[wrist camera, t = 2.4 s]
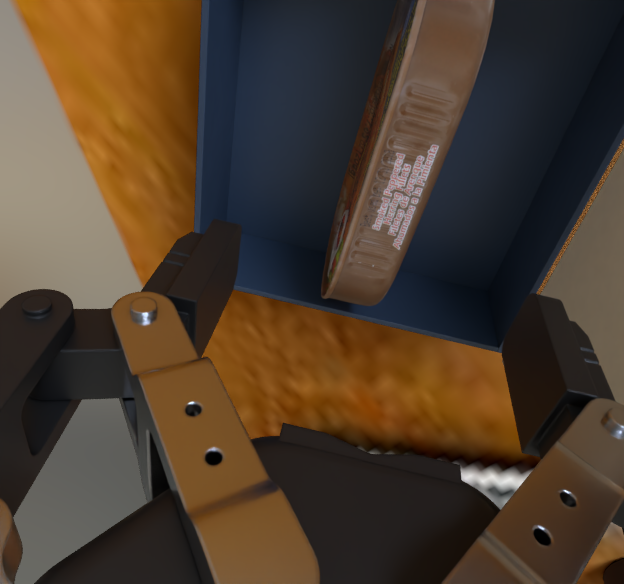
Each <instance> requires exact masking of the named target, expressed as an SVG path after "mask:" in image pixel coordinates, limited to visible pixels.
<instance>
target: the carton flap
mask: <svg viewBox="0 0 624 584" xmlns="http://www.w3.org/2000/svg"><path fill="white" fill-rule="evenodd" d="M540 295H543V296H547V297H551V298H556V299H560V300H561V301H562V303H563V305H564V308H565V310H566V313H567V315H568V318H569V320H570V321H574V322H576V323H577V324H578V325H579V326H580V327H581V329H582V330H583V331H584V332H585V333H586V334H587V335H588V337H589V339H590V341H591V344H592V346H593V348H594V353H595V354H596V356H597V358H598V360H599V365H601V367H602V370H603V372H604V375H605V377H606V379H607V382H608V384H609V386H610V389H611V391H612V394H613V396H614V398H615V401H616V402H618V403H620V404H622V405H624V149H623V151H622V152H621V154H620V156H619V158H618V159H617V161H616V163H615V165H614V166H613V168H612V170H611V172H610V173H609V175H608V177H607V179H606V180H605V182H604V184H603V186H602V187H601V189H600V191H599V193H598V194H597V196H596V198H595V200H594V201H593V203H592V205H591V207H590V208H589V210H588V212H587V214H586V215H585V217H584V219H583V221H582V222H581V224H580V226H579V228H578V229H577V231H576V233H575V235H574V236H573V238H572V240H571V242H570V243H569V245H568V247H567V249H566V250H565V252H564V254H563V256H562V257H561V259H560V261H559V263H558V264H557V266H556V268H555V270H554V271H553V273H552V275H551V277H550V278H549V280H548V282H547V284H546V285H545V287H544V289H543V291H542V292H541V294H540ZM502 362H503V361H502ZM503 365H504V363H503Z"/></svg>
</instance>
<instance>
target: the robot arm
mask: <svg viewBox="0 0 624 584" xmlns="http://www.w3.org/2000/svg"><path fill="white" fill-rule="evenodd" d="M241 232H242V227H241V225H240V224H236V223H232V222H227V221H223V220H219V219H214V220H213V221H212V222H211V224H210V226H209V227H208V229H207V230H206V232H205V233H204V234H200V233H195V232H190V233H189V234H187V235H185V236H183V237H181V238H180V239H178V240H177V241H176V243H175V244H174V245H173V247H172V248H171V250H170V252H169V253H168V254H167V255H166V257H165V258H164V260H163V262H161V264H160V265H159V267H158V268H157V269H156V271H155V272H154V274H153V275H152V276H151V278H150V279H149V281H148V282H147V283H146V285H145V286H144V288H143V289H142V290H141V292H135V293H131V294H128V295H126V296H124V297H122V298H120V299H119V300H118V301H117V302H116V303H115V304H114V305H113V307H112V308H109V309H73V304H72V301H71V299H70V298H69V297H68V296H67V295H65V294H64V293H61V292H59V291H55V290H48V289H38V290H31V291H27V292H24V293H21V294H18V295H17V296H15V297H13V298H11V299H10V300H9V301H8V302H7V303H6V304H5V305H4V306H3V307H2V308H1V309H0V584H14V581H15V576H16V573H17V570H18V567H19V564H20V562H21V559H22V553H23V552H22V551H23V548H22V542H21V539H20V536H19V534H18V531H17V528H16V525H15V522H14V519H13V517H14V515H15V513H16V511H17V509H18V507H19V506H20V505H21V502H22V501H23V499H24V498H25V496H26V494H27V493H28V491H29V489H30V487H31V486H32V484H33V482H34V481H35V479H36V477H37V475H38V474H39V472H40V470H41V469H42V467H43V465H44V464H45V462H46V460H47V458H48V457H49V455H50V453H51V452H52V450H53V448H54V446H55V445H56V443H57V441H58V440H59V438H60V436H61V434H62V433H63V431H64V429H65V427H66V426H67V424H68V423H69V421H70V419H71V417H72V416H73V414H74V412H75V411H76V409H77V407H78V405H79V404H80V402H81V400H82V399H105V398H119V400H120V403H121V406H122V409H123V413H124V416H125V419H126V422H127V426H128V429H129V432H130V435H131V439H132V442H133V445H134V449H135V452H136V455H137V459H138V463H139V468H140V475H141V480H142V484H143V489H144V492H145V496H146V500H147V504H145V505H144V506H142V507H141V508H139V509H138V510H136V511H135V512H133V513H132V514H130V515H129V516H127V517H126V518H124V519H123V520H121V521H120V522H118V523H117V524H115V525H114V526H112V527H111V528H109V529H108V530H107V531H105V532H104V533H102V534H101V535H99V536H98V537H96V538H95V539H93V540H92V541H90V542H89V543H87V544H86V545H84V546H83V547H81V548H80V549H78V550H77V551H75V552H74V553H72V554H71V555H69V556H68V557H66V558H65V559H63V560H62V561H60V562H59V563H57V564H56V565H55V566H53V567H52V568H51V569H49V570H48V571H47V572H46V573H45V574H44V575H43V576H41V577H40V578H39V579H38V580H37V581H36V582H35V583H34V584H576V583H577V581H578V579H579V577H580V575H581V574H582V572H583V570H584V568H585V567H586V565H587V563H588V561H589V560H590V558H591V556H592V554H593V553H594V551H595V549H596V547H597V546H598V544H599V542H600V540H601V539H602V537H603V535H604V533H605V532H606V530H607V528H608V526H609V525H610V523H611V522H613V523H614V524H616V525H618V526H620V527H622V530H623V533H624V405H622V404H620V403H618V402H616V401H615V398H614V396H613V394H612V391H611V389H610V386H609V384H608V382H607V379H606V377H605V375H604V372H603V370H602V367H601V365H599V360H598V358H597V356H596V354H595V353H594V348H593V346H592V344H591V341H590V339H589V337H588V335H587V334H586V333H585V332H584V331H583V330H582V329H581V327H580V326H579V325H578V324H577V323H576V322H574V321H570V320H569V318H568V315H567V313H566V310H565V308H564V305H563V303H562V301H561V300H560V299H556V298H551V297H547V296H543V295H538V294H534V293H531V294H529V295H528V296H527V298H526V299H525V301H524V303H523V304H522V306H521V308H520V310H519V312H518V313H517V315H516V317H515V319H514V321H513V323H512V324H511V326H510V328H509V330H508V332H507V333H506V336H505V338H504V341H503V346H502V358H503V363H504V368H505V373H506V377H507V382H508V387H509V392H510V397H511V402H512V406H513V411H514V416H515V421H516V426H517V431H518V435H519V440H520V445H521V450H522V453H525V454H530V455H534V456H538V457H540V458H541V461H540V462H539V464H538V465H537V466H536V467H535V468H534V470H533V471H532V472H531V473H530V475H529V476H528V477H527V478H526V480H525V481H524V482H523V483H522V485H521V486H520V487H519V488H518V489H517V491H516V492H515V493H514V494H513V496H512V497H511V498H510V499H509V501H508V502H507V503H506V504H505V506H504V507H503V508H502V509H501V510H500V509H499V508H498V507H497V506H496V505H495V504H494V503H493V502H492V501H491V500H490V499H489V498H487V497H486V496H485V495H484V494H482V493H481V492H480V491H478V490H477V489H475V488H474V487H472V486H471V485H469V484H467V483H465V482H463V481H462V480H461V471H460V465H457V464H453V463H449V462H445V461H441V460H437V459H432V458H428V457H424V456H420V455H397V454H370V453H367V452H365V451H363V450H360V449H358V448H356V447H354V446H352V445H350V444H348V443H346V442H344V441H342V440H340V439H337V438H335V437H333V436H331V435H329V434H327V433H324V432H319V431H315V430H311V429H307V428H303V427H298V426H294V425H290V424H286V423H283V425H282V429H281V433H280V436H267V437H259V438H255V439H250V438H249V435H248V433H247V431H246V429H245V427H244V425H243V423H242V421H241V419H240V417H239V415H238V413H237V411H236V409H235V407H234V405H233V403H232V401H231V399H230V397H229V395H228V393H227V391H226V389H225V387H224V385H223V383H222V381H221V379H220V377H219V375H218V373H217V371H216V369H215V367H214V365H213V363H212V361H211V360H210V359H209V358H208V357H204V358H201V357H202V355H203V353H204V351H205V348H206V346H207V344H208V342H209V340H210V338H211V336H212V334H213V331H214V329H215V327H216V325H217V323H218V321H219V319H220V317H221V314H222V312H223V310H224V308H225V306H226V304H227V302H228V299H229V297H230V295H231V293H232V291H233V288H234V285H235V281H236V277H237V271H238V261H239V252H240V242H241Z"/></svg>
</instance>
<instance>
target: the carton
mask: <svg viewBox="0 0 624 584" xmlns="http://www.w3.org/2000/svg"><path fill="white" fill-rule="evenodd" d="M396 3H397V0H202V10H201V40H200V69H199V99H198V129H197V158H196V188H195V218H194V232H195V233H200V234H204V233H205V232H206V230H207V229H208V227H209V226H210V224H211V222H212V221H213V220H214V219H219V220H223V221H227V222H232V223H236V224H240V225H241V227H242V232H241V242H240V252H239V261H238V271H237V277H236V281H235V285H234V288H233V289H234V290H238V291H242V292H246V293H251V294H255V295H259V296H263V297H267V298H272V299H276V300H280V301H284V302H289V303H293V304H297V305H301V306H305V307H310V308H314V309H318V310H322V311H326V312H331V313H335V314H339V315H343V316H348V317H352V318H356V319H360V320H364V321H369V322H373V323H377V324H381V325H385V326H390V327H394V328H398V329H402V330H407V331H411V332H415V333H419V334H423V335H428V336H432V337H436V338H440V339H444V340H449V341H453V342H457V343H461V344H466V345H470V346H474V347H478V348H482V349H487V350H491V351H495V352H499V353H502V346H503V341H504V338H505V336H506V333H507V332H508V330H509V328H510V326H511V324H512V323H513V321H514V319H515V317H516V315H517V313H518V312H519V310H520V308H521V306H522V304H523V303H524V301H525V299H526V298H527V296H528V295H529V294H531V293H534V294H536V293H537V291H538V289H539V287H540V286H541V284H542V282H543V280H544V279H545V277H546V275H547V273H548V272H549V270H550V268H551V266H552V264H553V263H554V261H555V259H556V257H557V256H558V254H559V252H560V250H561V248H562V247H563V245H564V243H565V241H566V240H567V238H568V236H569V234H570V233H571V231H572V229H573V227H574V225H575V224H576V222H577V220H578V218H579V217H580V215H581V213H582V211H583V209H584V208H585V206H586V204H587V202H588V201H589V199H590V197H591V195H592V194H593V192H594V190H595V188H596V186H597V185H598V183H599V181H600V179H601V178H602V176H603V174H604V172H605V170H606V169H607V167H608V165H609V163H610V162H611V160H612V158H613V156H614V154H615V153H616V151H617V149H618V147H619V146H620V144H621V142H622V140H623V139H624V0H495V3H494V11H493V18H492V23H491V27H490V32H489V36H488V40H487V45H486V49H485V52H484V55H483V59H482V62H481V65H480V69H479V72H478V75H477V78H476V81H475V84H474V87H473V90H472V92H471V95H470V98H469V101H468V103H467V106H466V108H465V111H464V113H463V116H462V118H461V121H460V123H459V126H458V128H457V131H456V133H455V136H454V138H453V141H452V143H451V146H450V148H449V151H448V153H447V155H446V158H445V160H444V163H443V165H442V168H441V170H440V173H439V175H438V178H437V180H436V183H435V185H434V187H433V190H432V192H431V194H430V197H429V200H428V202H427V204H426V207H425V209H424V212H423V214H422V216H421V219H420V221H419V223H418V226H417V228H416V231H415V233H414V236H413V238H412V240H411V242H410V245H409V247H408V250H407V252H406V254H405V256H404V259H403V261H402V263H401V266H400V268H399V270H398V273H397V275H396V277H395V279H394V281H393V283H392V285H391V287H390V289H389V290H388V292H387V294H386V295H385V297H384V298H383V299H382V300H381V301H380V302H379V303H378V304H376V305H374V306H364V305H358V304H353V303H349V302H345V301H341V300H337V299H332V298H327V299H324V298H322V297H321V284H322V276H323V271H324V265H325V260H326V253H327V248H328V243H329V238H330V233H331V228H332V224H333V219H334V215H335V211H336V207H337V203H338V200H339V196H340V192H341V188H342V184H343V181H344V177H345V174H346V170H347V167H348V163H349V160H350V156H351V153H352V150H353V146H354V143H355V140H356V136H357V133H358V130H359V126H360V123H361V119H362V116H363V113H364V109H365V106H366V102H367V99H368V96H369V92H370V89H371V86H372V82H373V79H374V75H375V72H376V68H377V65H378V61H379V59H380V55H381V51H382V48H383V45H384V41H385V38H386V35H387V32H388V28H389V25H390V23H391V19H392V15H393V12H394V9H395V6H396Z"/></svg>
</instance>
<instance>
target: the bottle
mask: <svg viewBox="0 0 624 584" xmlns="http://www.w3.org/2000/svg"><path fill="white" fill-rule="evenodd" d="M603 580H604V584H624V559H621V560H619V561H617V562H615V563H612V564H611V565H610V566H609V567H608V568H607V569H606V570H605V572H604V575H603Z"/></svg>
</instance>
